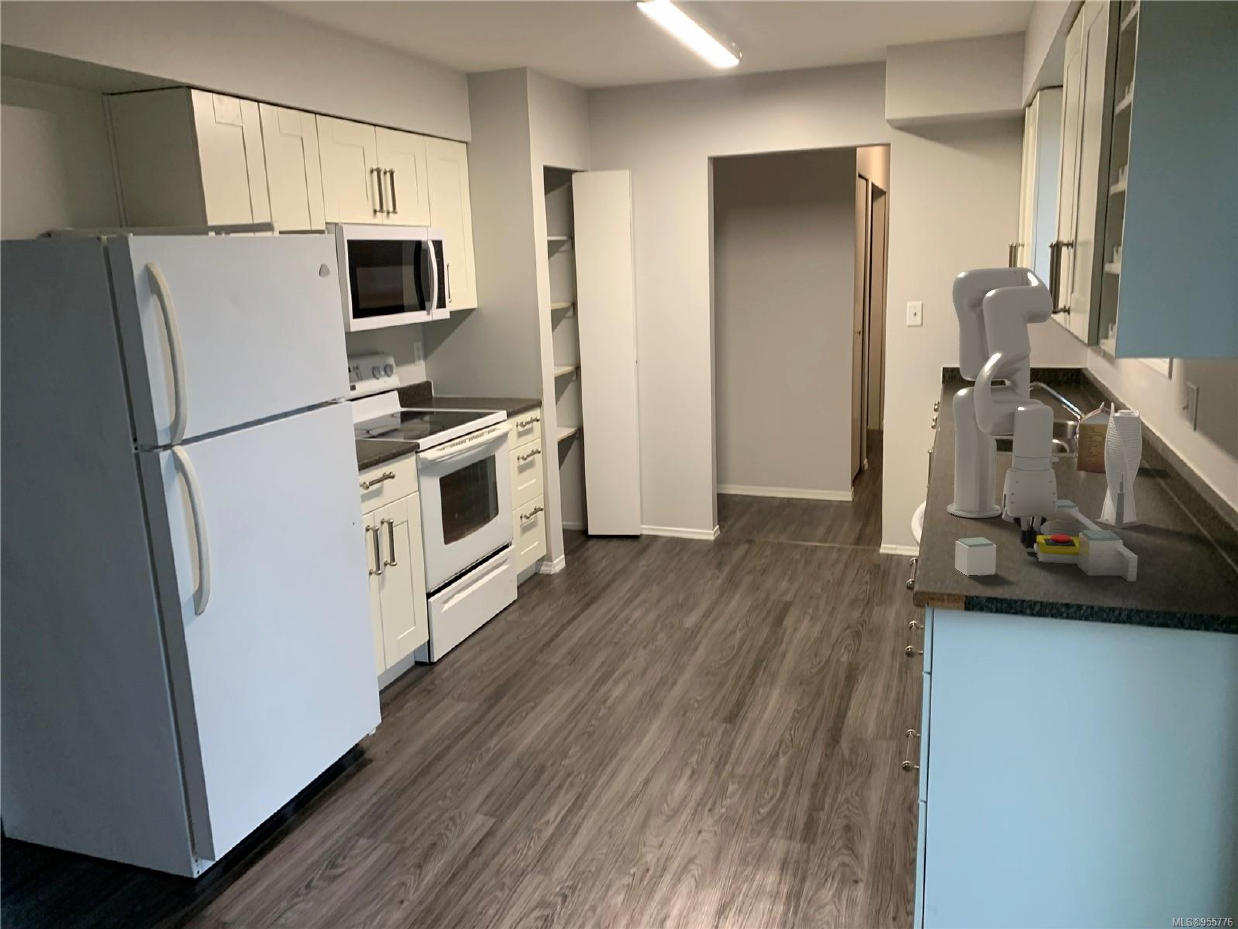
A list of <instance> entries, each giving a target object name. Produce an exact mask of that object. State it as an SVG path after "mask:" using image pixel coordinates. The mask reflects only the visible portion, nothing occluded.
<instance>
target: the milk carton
mask: <svg viewBox="0 0 1238 929" xmlns="http://www.w3.org/2000/svg"><path fill="white" fill-rule="evenodd" d="M1110 415H1111V408H1110V409H1109V408H1108V407H1105V402H1104V401H1103V402H1102V403H1101V405H1100V406H1099V408H1097V409H1095V410H1092V411H1090V412H1089V413H1087V414H1086V415H1084V416H1083V417H1082V418H1081V420H1080V422H1078V437H1077V438H1078V439H1077V458H1076V459H1077V460H1076V471H1079V472H1080V471H1081V472H1083V471H1084V472H1097V473H1106V470H1105V441H1106V434H1107V429H1108V424H1109V419H1110Z"/></svg>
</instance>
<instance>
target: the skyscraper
mask: <svg viewBox="0 0 1238 929" xmlns="http://www.w3.org/2000/svg"><path fill="white" fill-rule="evenodd" d="M1115 408H1116V407H1115V403H1113V402H1111V404H1110V410H1111V415H1110V419H1109V424H1108V429H1107V434H1106V441H1105V470H1106V472H1105V476H1106V482H1107V489H1106V494H1105V498H1104V502H1103V505H1102V510H1101V514H1100V518H1097V519H1094V522H1095V523H1098V524H1102V525H1106V526H1109V527H1112V528H1116V529H1118V530H1119V529H1120V530H1121V529H1126V528H1130V527H1136V526H1137V525H1138V526H1141V525H1140V524H1142V525H1143V522H1141V521H1138V520H1137V513H1136V504H1135V497H1134V496H1135V495H1134V488H1133V485H1134V483H1135V480H1136V477H1137V474H1138V470H1139V468H1140V463H1141V458H1142V450H1143V449H1142V448H1143V436H1142V434H1143V432H1142V421H1141V414H1140V413H1141V412H1140V411H1139V410H1138V409H1137V410H1136V411H1135V412H1133V410H1130V409H1121V410H1117V412H1115ZM1094 522H1093V523H1094Z"/></svg>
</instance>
